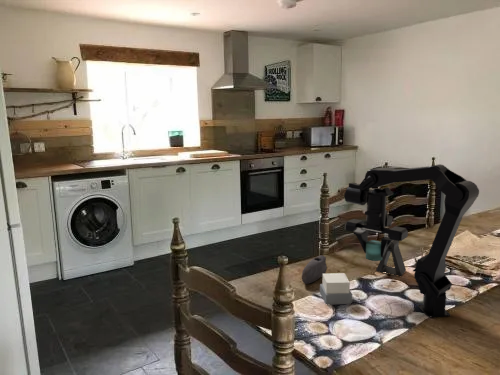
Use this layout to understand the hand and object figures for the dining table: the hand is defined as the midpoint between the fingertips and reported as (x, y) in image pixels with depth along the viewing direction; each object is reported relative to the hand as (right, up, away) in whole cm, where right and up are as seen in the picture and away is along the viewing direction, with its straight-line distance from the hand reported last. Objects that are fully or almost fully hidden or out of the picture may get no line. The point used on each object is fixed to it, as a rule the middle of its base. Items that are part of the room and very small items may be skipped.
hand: (374, 254), depth 128 cm
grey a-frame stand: (+11, -9, +17) cm, 22 cm away
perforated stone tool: (-18, -11, +11) cm, 23 cm away
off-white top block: (-13, -10, -4) cm, 17 cm away
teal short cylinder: (0, -1, 0) cm, 1 cm away
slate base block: (-13, -13, -3) cm, 19 cm away
